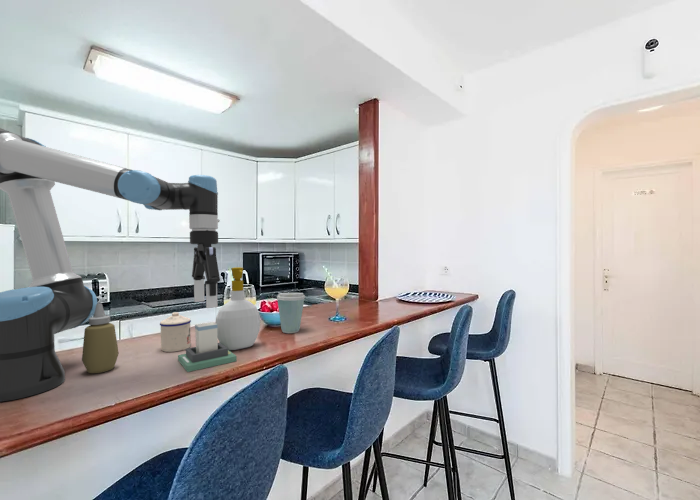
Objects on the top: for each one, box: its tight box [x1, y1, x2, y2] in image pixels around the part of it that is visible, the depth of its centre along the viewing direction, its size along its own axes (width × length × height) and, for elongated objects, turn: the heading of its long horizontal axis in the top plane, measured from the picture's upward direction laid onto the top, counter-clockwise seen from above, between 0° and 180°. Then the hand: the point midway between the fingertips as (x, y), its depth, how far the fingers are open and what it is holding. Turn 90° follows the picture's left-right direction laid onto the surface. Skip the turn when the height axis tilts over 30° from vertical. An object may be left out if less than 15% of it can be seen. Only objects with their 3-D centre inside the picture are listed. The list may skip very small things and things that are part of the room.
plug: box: [194, 321, 219, 354], centre depth 99 cm, size 5×4×9 cm
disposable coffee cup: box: [276, 292, 306, 334], centre depth 131 cm, size 11×11×15 cm
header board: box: [177, 342, 237, 373], centre depth 99 cm, size 13×12×4 cm
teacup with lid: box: [159, 311, 192, 353], centre depth 113 cm, size 12×9×12 cm
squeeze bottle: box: [81, 303, 120, 374], centre depth 93 cm, size 8×8×18 cm
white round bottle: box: [215, 266, 261, 351], centre depth 110 cm, size 14×9×26 cm, turn 125°
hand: (205, 304), depth 99 cm, fingers open, 13 cm apart
